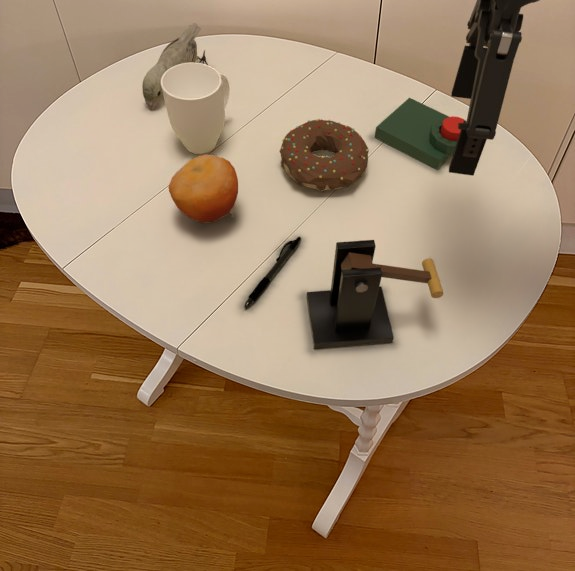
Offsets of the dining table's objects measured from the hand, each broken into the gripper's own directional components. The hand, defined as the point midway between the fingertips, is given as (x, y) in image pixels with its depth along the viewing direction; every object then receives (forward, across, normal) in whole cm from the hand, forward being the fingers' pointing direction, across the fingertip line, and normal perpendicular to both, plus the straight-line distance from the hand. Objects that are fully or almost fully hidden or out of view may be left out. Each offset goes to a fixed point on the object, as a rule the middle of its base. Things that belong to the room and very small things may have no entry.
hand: (461, 132), depth 70 cm
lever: (+11, +15, -6) cm, 19 cm away
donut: (+20, -11, -17) cm, 28 cm away
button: (+16, -19, +2) cm, 25 cm away
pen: (+19, +10, -21) cm, 30 cm away
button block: (+19, -21, -1) cm, 28 cm away
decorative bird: (+20, -27, -46) cm, 57 cm away
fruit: (+20, +2, -32) cm, 38 cm away
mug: (+20, -14, -37) cm, 44 cm away
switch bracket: (+19, +16, -10) cm, 27 cm away
